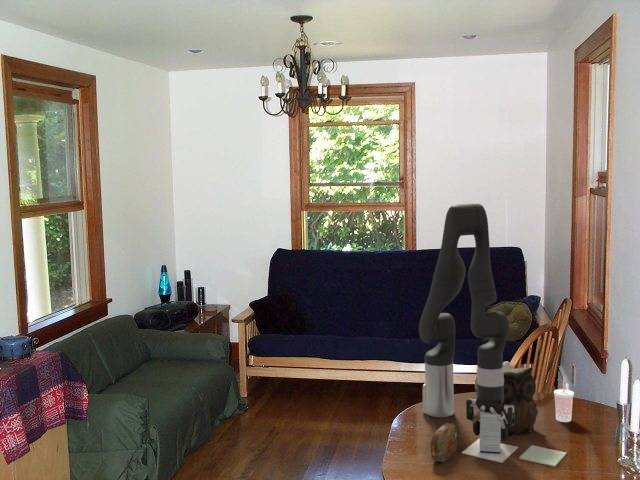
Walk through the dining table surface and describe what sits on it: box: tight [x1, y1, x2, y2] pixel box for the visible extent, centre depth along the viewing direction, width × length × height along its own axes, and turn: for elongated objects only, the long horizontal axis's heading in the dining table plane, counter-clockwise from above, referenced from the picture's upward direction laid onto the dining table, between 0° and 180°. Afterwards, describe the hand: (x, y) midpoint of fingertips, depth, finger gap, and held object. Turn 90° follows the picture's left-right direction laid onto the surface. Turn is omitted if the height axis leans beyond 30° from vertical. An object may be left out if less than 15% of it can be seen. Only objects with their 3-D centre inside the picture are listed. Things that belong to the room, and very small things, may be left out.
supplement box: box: [479, 412, 502, 454], centre depth 210 cm, size 6×6×12 cm
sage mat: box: [518, 445, 568, 468], centre depth 205 cm, size 10×10×1 cm
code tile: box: [461, 438, 519, 463], centre depth 210 cm, size 12×12×1 cm
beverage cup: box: [553, 376, 575, 423], centre depth 232 cm, size 6×6×14 cm
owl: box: [501, 366, 539, 438], centre depth 223 cm, size 13×13×20 cm
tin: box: [430, 422, 459, 463], centre depth 207 cm, size 15×3×8 cm, turn 148°
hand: (490, 437), depth 210 cm, fingers closed on supplement box, 7 cm apart
